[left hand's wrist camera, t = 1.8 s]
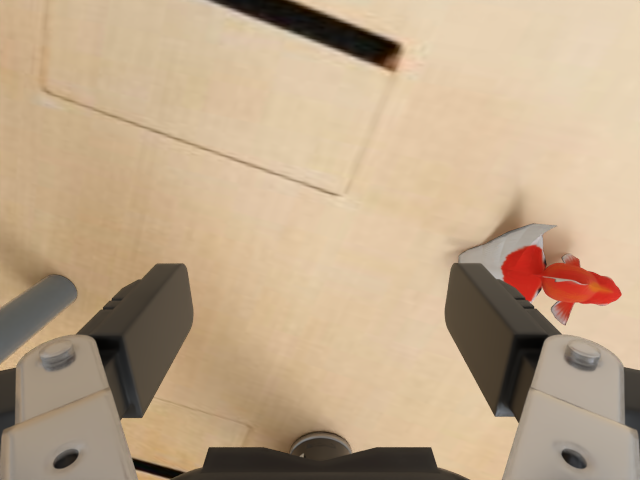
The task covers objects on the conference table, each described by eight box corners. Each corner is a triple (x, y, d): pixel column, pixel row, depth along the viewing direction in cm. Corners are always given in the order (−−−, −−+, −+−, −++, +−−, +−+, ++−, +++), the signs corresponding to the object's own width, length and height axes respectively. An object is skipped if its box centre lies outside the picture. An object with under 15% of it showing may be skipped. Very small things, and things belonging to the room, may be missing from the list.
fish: (561, 355, 42) (606, 375, 33) (437, 285, 46) (446, 284, 37) (608, 275, 42) (668, 272, 33) (480, 212, 46) (500, 192, 37)
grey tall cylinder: (44, 269, 44) (-100, 361, 29) (80, 282, 44) (-41, 379, 29) (38, 297, 45) (-102, 398, 30) (73, 310, 46) (-46, 416, 31)
